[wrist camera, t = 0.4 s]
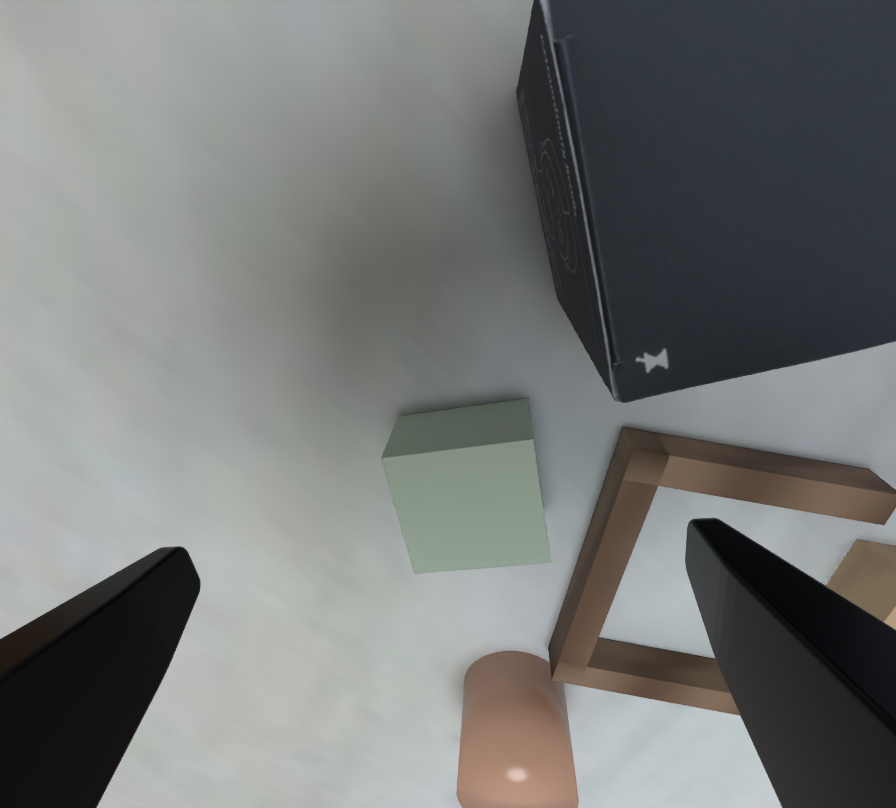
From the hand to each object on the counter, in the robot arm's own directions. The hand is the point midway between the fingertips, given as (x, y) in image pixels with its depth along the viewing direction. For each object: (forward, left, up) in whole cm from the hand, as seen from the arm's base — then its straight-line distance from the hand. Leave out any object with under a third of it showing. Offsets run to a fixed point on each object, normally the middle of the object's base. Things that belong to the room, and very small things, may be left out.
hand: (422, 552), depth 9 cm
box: (-4, -7, -14) cm, 16 cm away
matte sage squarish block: (-1, +6, -14) cm, 15 cm away
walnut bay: (-12, +10, -14) cm, 21 cm away
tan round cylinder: (-6, +21, -14) cm, 26 cm away
